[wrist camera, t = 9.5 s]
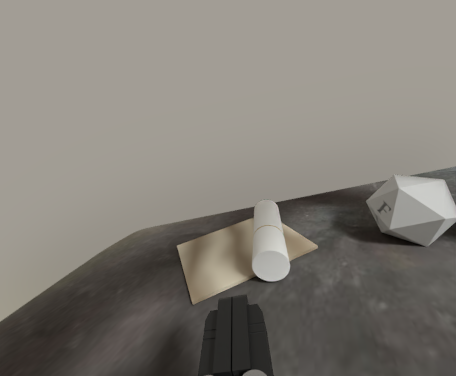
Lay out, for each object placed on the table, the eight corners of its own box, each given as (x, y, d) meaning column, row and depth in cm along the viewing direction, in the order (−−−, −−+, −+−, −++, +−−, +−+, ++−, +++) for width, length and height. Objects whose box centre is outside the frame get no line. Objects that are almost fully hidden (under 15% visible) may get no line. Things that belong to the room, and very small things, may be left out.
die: (370, 219, 35) (346, 187, 30) (429, 190, 32) (412, 148, 27) (407, 265, 28) (383, 233, 24) (484, 234, 25) (475, 189, 20)
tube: (274, 243, 24) (268, 194, 38) (244, 262, 25) (249, 208, 39) (297, 270, 24) (283, 212, 38) (267, 287, 26) (264, 225, 40)
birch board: (266, 214, 43) (266, 212, 43) (317, 248, 30) (317, 245, 30) (177, 247, 38) (176, 245, 38) (192, 304, 25) (191, 302, 25)
